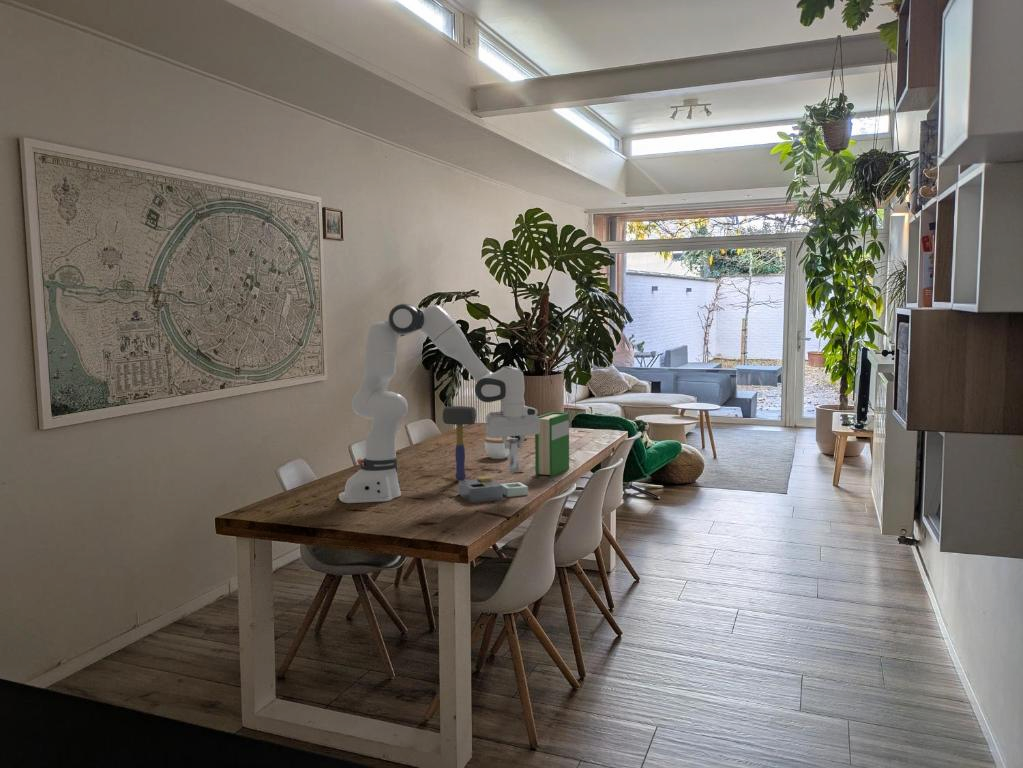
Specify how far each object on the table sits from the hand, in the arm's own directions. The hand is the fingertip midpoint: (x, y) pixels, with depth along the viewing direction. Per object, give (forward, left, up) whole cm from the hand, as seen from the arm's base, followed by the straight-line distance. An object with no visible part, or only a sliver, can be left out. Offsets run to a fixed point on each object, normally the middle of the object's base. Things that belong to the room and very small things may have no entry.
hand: (513, 447), depth 284 cm
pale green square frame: (0, 0, -17) cm, 17 cm away
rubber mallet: (-12, +28, -17) cm, 35 cm away
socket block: (-13, 0, -17) cm, 22 cm away
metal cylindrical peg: (0, 0, -9) cm, 9 cm away
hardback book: (+28, +28, -17) cm, 43 cm away
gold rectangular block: (-10, +4, -17) cm, 20 cm away
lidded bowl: (+18, +67, -17) cm, 71 cm away
